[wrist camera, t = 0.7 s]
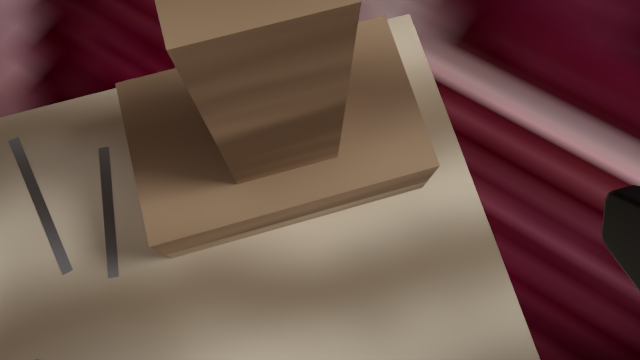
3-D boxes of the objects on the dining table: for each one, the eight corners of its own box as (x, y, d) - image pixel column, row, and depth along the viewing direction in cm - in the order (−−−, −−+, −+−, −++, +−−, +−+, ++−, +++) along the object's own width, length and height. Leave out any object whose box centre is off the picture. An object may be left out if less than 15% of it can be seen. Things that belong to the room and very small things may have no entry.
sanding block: (422, 187, 21) (557, 18, 9) (172, 258, 20) (-17, 166, 9) (375, 55, 22) (443, -232, 11) (141, 115, 22) (-56, -127, 10)
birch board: (566, 472, 20) (587, 484, 18) (-161, 719, 18) (-204, 755, 16) (403, 32, 24) (409, 13, 23) (-185, 183, 22) (-220, 173, 21)
